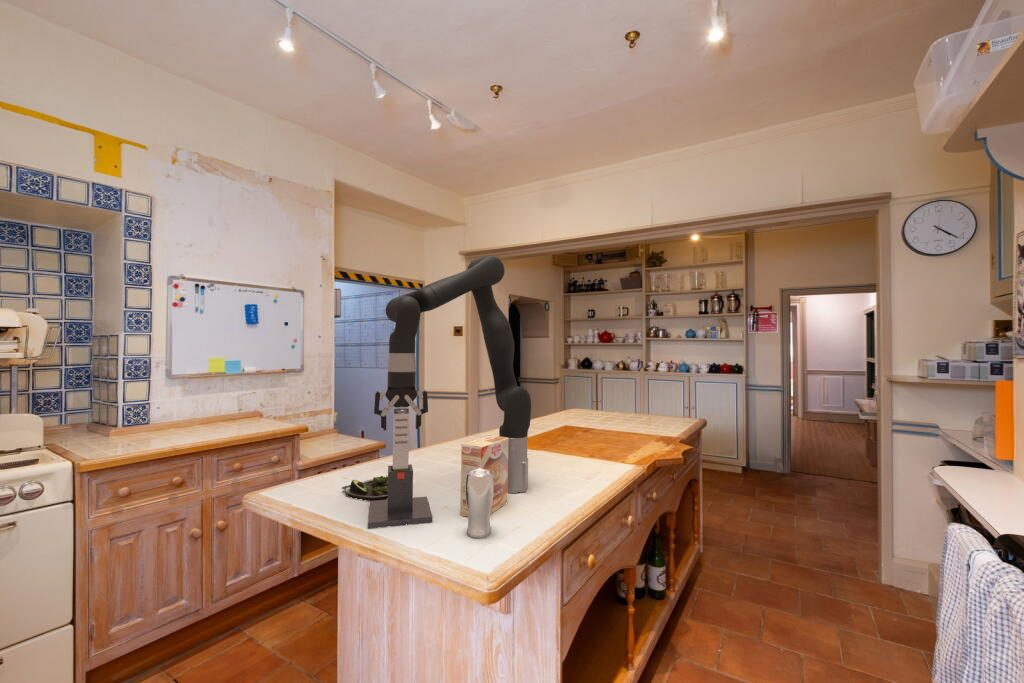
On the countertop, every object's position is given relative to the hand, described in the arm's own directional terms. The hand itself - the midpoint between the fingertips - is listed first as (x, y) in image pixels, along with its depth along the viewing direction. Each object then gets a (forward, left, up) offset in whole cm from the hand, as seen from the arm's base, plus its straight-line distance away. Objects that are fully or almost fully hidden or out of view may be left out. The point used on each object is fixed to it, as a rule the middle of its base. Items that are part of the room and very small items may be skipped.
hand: (401, 429), depth 122 cm
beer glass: (-24, +8, -23) cm, 34 cm away
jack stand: (0, 0, -23) cm, 23 cm away
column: (0, 0, -15) cm, 15 cm away
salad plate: (+15, -16, -24) cm, 32 cm away
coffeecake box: (-22, -8, -23) cm, 33 cm away
